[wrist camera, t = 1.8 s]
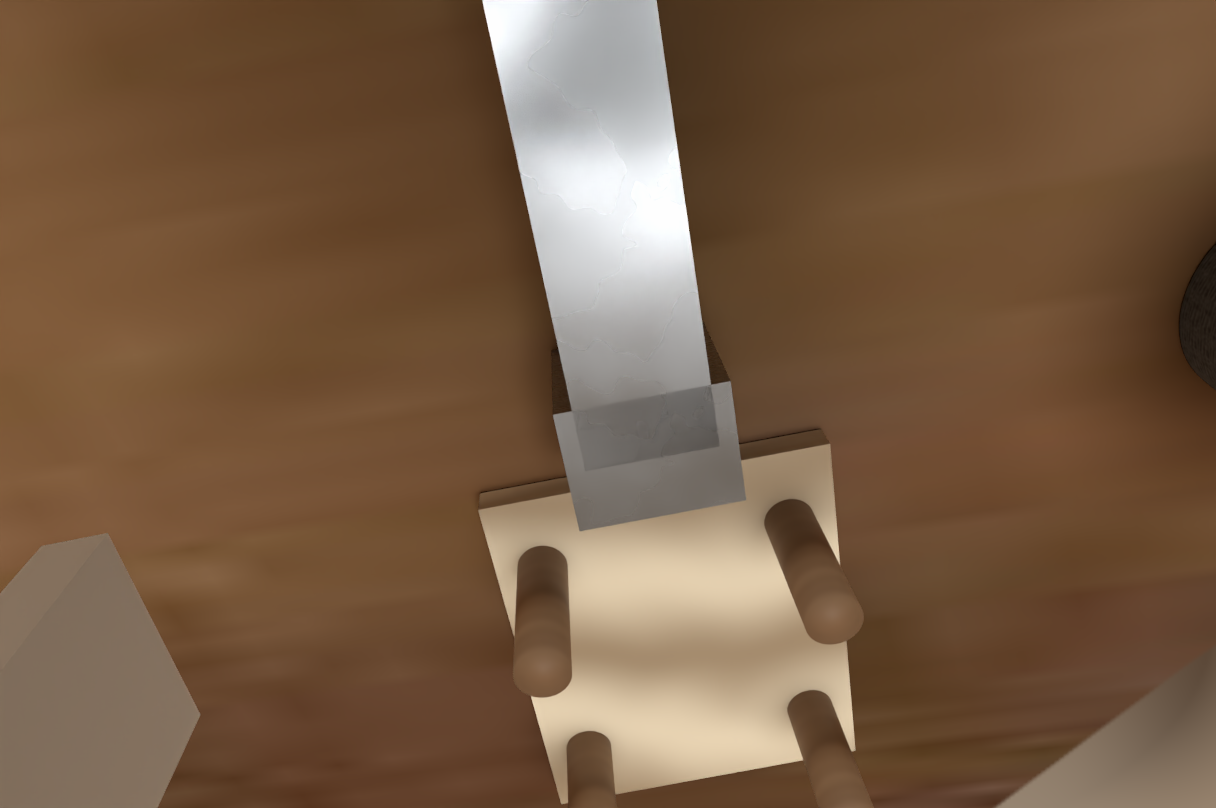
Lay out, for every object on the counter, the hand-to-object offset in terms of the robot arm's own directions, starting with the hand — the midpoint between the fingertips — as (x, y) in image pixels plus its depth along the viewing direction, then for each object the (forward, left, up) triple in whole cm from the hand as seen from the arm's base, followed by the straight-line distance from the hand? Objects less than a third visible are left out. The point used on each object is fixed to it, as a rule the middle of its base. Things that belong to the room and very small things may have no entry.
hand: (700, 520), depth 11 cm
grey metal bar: (0, 0, -17) cm, 17 cm away
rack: (+15, 0, -16) cm, 22 cm away
